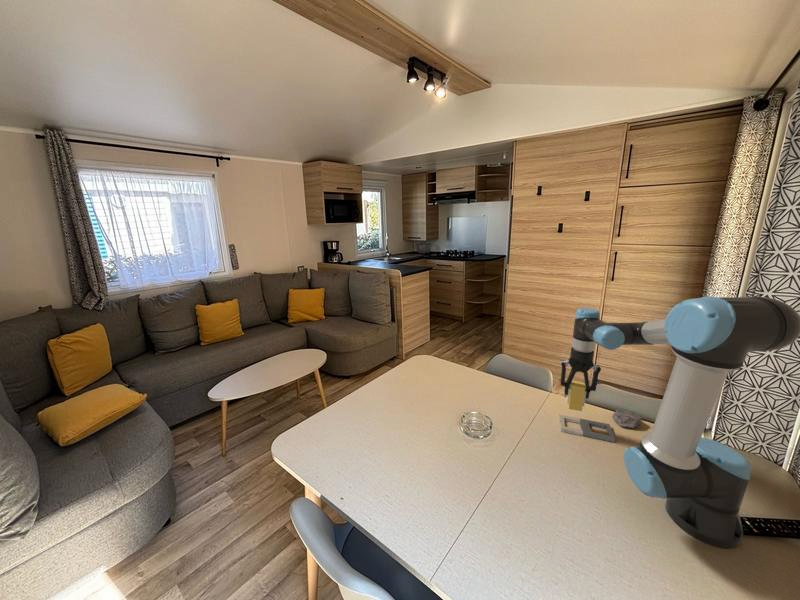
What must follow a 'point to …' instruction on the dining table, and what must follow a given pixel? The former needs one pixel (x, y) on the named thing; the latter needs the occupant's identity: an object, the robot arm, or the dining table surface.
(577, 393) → the block
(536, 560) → the dining table surface
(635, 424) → the rock
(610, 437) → the grey flat frame
